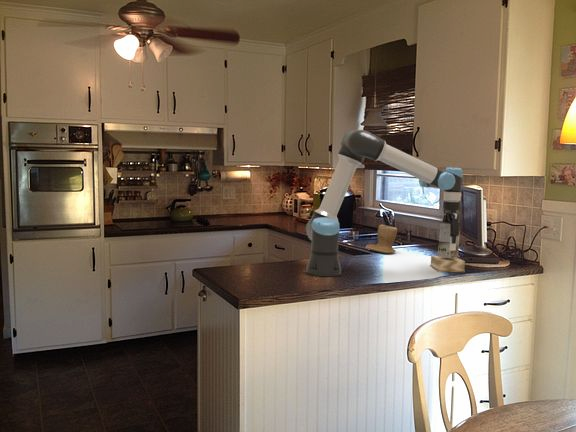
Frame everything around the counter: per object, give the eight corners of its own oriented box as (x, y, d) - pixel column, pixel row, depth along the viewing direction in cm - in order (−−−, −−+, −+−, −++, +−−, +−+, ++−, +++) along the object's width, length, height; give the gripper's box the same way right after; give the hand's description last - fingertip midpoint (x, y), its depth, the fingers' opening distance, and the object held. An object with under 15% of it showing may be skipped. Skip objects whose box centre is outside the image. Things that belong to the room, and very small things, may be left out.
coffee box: (450, 258, 253) (453, 223, 251) (437, 256, 257) (439, 222, 255) (458, 256, 260) (461, 222, 258) (445, 254, 264) (448, 221, 262)
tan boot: (400, 253, 297) (402, 225, 295) (385, 255, 289) (387, 227, 288) (379, 249, 308) (380, 222, 307) (364, 250, 301) (366, 223, 299)
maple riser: (438, 271, 252) (438, 260, 252) (429, 266, 265) (430, 255, 264) (464, 272, 253) (465, 261, 253) (455, 266, 265) (456, 256, 265)
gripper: (469, 203, 244) (465, 253, 247) (451, 199, 267) (448, 244, 269) (452, 203, 244) (448, 252, 246) (436, 198, 267) (432, 244, 269)
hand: (448, 248), depth 258 cm, fingers closed on coffee box, 10 cm apart
